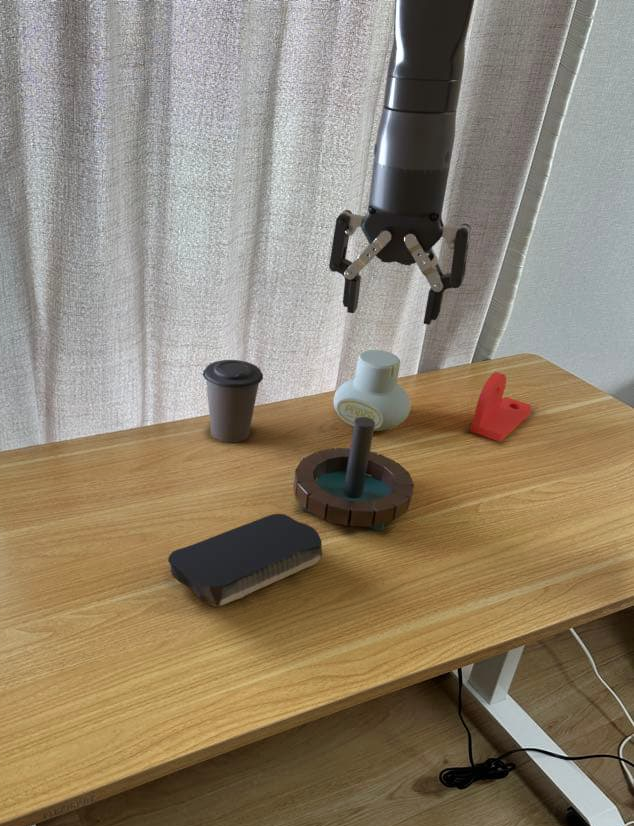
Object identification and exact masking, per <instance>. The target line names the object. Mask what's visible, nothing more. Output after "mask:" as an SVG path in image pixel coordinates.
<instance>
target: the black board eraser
mask: <svg viewBox="0 0 634 826" xmlns="http://www.w3.org/2000/svg"><path fill="white" fill-rule="evenodd" d="M322 546H323V545H322V538H321V537H320V535H319V533H318V531H317V530H316V529H315V528H314V527H312V526H310V525H309V524H306V523H303V522H300V521H298V520H295V519H293V518H292V517H291V516H290V515H287V514H283V513H273V514H270V515H266V516H265V517H264V516H263V517H262V518H259V519H256V520H253V521H251V522H248V523H245V524H242V525H240V526H238V527H234V528H232V529H230V530H227V531H225V532H223V533H222V532H221V533H219V534H217V535H214V536H212V537H209V538H207V539H204V540H201V541H199V542H196V543H194V544H191V545H188V546H185V547H182V548H177V549H175V550H174V551H172V552H171V553H170V554H169V556H168V559H167V561H168V563H169V565H170V574H171V575H172V577H173V578H175V580H177V581H178V582H179V583H180V584H183V585H184V586H186V587H188V588H189V589H190V590H192V592H193V593H194V594H195V595H196V596H197V597H198V598H199V600H200V601H201V602H202V603H205V604H207V605H210V606H213V607H217V608H218V607H222V606H224V605H227V604H229V603H231V602H233V601H237V600H240V599H243V598H244V597H245V596H248V595H250V594H252V593H253V592H256V591H258V590H260V589H263V588H266V587H268V586H269V585H272V584H274V583H276V582H278V581H280V580H283V579H285V578H287V577H289V576H292V575H295V574H297V573H298V572H300V571H302V570H304V569H307V568H310V567H311V566H314V565H315V564H317V563H318V562H319V561H320V558H321V557H322V555H323V549H322Z"/></svg>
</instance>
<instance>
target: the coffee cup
mask: <svg viewBox="0 0 634 826" xmlns="http://www.w3.org/2000/svg"><path fill="white" fill-rule="evenodd" d="M202 377H203V379H204V380H205V381H206V393H207V394H206V395H207V403H208V404H207V405H208V412H209V413H208V415H209V423H210V424H209V425H210V426H209V427H210V434H211V436H212V437H213V438H214V439H216V440H217V441H220V442H224V443H240V442H243V441H245V440H246V439H248V438H249V436H250V431H251V426H252V421H253V417H254V416H253V415H254V411H255V405H256V399H257V395H258V390H259V384H260V383H261V382H262V381H263V379H264V374H263V372H262V371H261V369H260V368H259V367H258V366H257V365H255V364H253V363H252V362H248V361H243V360H239V359H221V360H217V361H213V362H211V363H209V364H208V365H206V367H205V369H204V370H203V372H202Z"/></svg>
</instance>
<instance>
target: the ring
mask: <svg viewBox="0 0 634 826" xmlns="http://www.w3.org/2000/svg"><path fill="white" fill-rule="evenodd" d="M349 452H350V447H336V448H335V447H333V448H332V447H331V448H327V449H322V450H316V451H314V452H312V453H310V454H309V455H307V456H305V457H303V458H302V459H301V460H300V461H299V463H298V464H297V466H296V468H295V470H294V476H293V491H294V497H295V499H296V500H297V501H298V502H299V504H300V505H301V506H303V507H304V508H305V509H307V510H308V511H309V512H308V513H310V512H311V513H310V514H313V515H315V516H317V517H318V518H320V519H322V520H326V521H328V522H332V523H334V524H338V525H343V526H348V525H349V527H364V526H368V527H371V526H372V525H373V526H377V525H382V524H385V525H386V524H390V523H393V522H395V521H397V520H398V519H399V518H401V517H402V516H404V515H405V514H407V512H408V510H409V508H410V505H411V503H412V499H413V496H414V495H413V494H414V490H415V483H414V481H413V478H412V475H411V474H410V472H409V471H408V470H407V469H406V468H405V467H403V466H402V465H401V464H400V463H399V462H397V461H396V460H394V459H391V458H389V457H387V456H385V455H384V454H381V453H378V452H375V451H371V450H370V455H369V461H368V467H367V472H366V475H369V476H373V477H375V478H377V479H379V480H381V481H382V482H383V483H384V484H385V485H386V486H387V487H388V488H390V489H391V493H390V494H388V495H387V496H385V497H384V498H380V499H376V500H371V501H352V500H348V499H344V498H339V497H335V496H333V495H331V494H330V493H328V492H326V491H324V490H322V489H321V488H320V487H319V486H318V485H317V484H316V480H317V479H318V478H319V477H320V476H322V475H324V474H326V473H331V472H336V471H347V465H348V459H349ZM368 527H367V528H368Z"/></svg>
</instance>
